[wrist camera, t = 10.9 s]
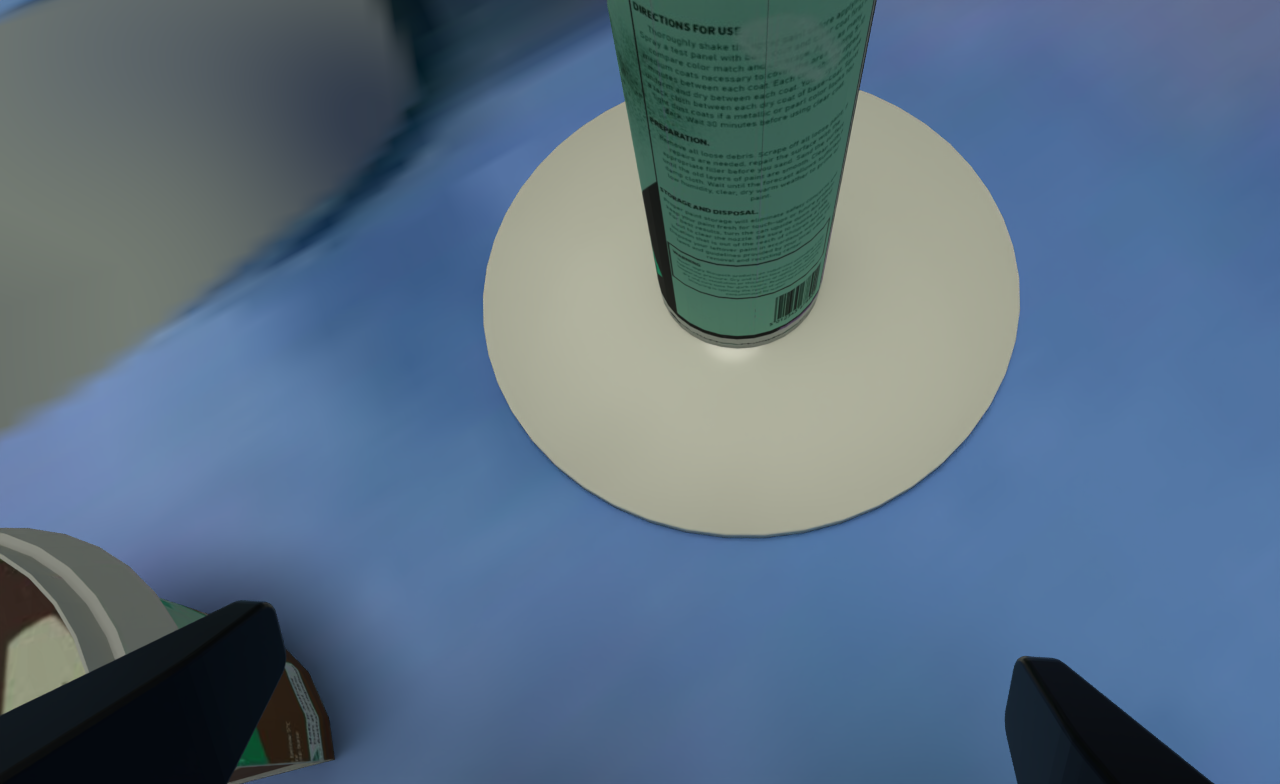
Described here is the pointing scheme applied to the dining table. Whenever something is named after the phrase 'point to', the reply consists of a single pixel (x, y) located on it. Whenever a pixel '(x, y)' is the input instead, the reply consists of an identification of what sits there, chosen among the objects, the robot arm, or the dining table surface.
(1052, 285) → the dining table surface
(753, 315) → the spray can
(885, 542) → the dining table surface
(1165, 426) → the dining table surface
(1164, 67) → the dining table surface
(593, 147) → the cream round disc
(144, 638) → the food container
